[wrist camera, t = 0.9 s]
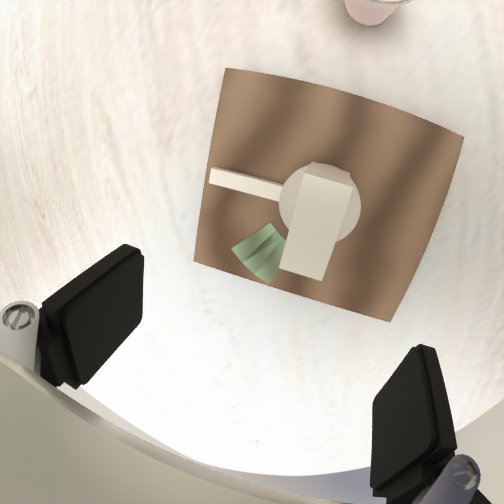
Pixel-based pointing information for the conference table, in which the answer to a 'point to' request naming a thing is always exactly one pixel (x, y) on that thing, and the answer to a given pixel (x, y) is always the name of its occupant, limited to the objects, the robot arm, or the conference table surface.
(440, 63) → the conference table surface
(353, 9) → the smoothie
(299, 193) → the peg knob
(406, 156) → the dial board
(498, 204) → the conference table surface
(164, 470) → the robot arm
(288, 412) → the conference table surface
